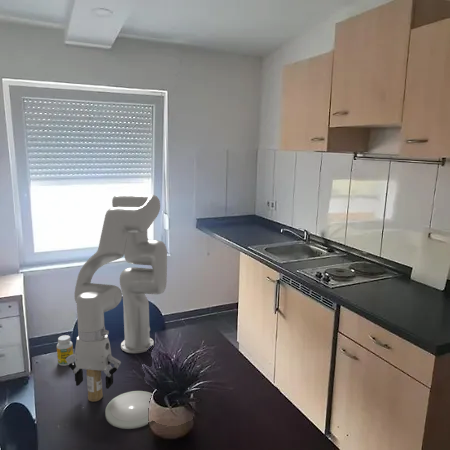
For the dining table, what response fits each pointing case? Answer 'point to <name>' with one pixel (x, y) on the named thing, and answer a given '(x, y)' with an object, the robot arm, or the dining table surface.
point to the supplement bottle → (64, 349)
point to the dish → (129, 410)
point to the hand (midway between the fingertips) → (94, 384)
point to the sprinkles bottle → (94, 385)
